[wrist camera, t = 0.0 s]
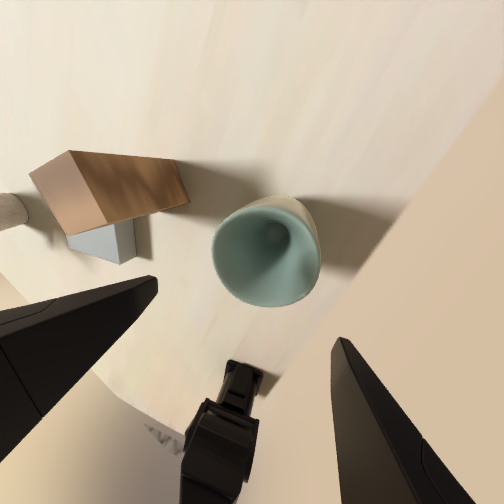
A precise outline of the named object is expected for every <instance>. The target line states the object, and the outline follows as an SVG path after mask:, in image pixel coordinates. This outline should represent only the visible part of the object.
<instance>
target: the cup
mask: <svg viewBox="0 0 504 504" xmlns="http://www.w3.org/2000/svg"><path fill="white" fill-rule="evenodd" d="M212 259H213V263H214V267H215V270H216V272H217V275H218V277H219V279H220V280H221V282H222V284H223V285H224V286H225V287H226V289H227V290H228V291H229V292H230V293H231V294H232V295H234V296H235V297H236V298H238V299H240V300H241V301H243V302H246V303H248V304H251V305H255V306H260V307H282V306H286V305H290V304H293V303H295V302H297V301H299V300H301V299H303V298H304V297H305V296H307V295H308V294H309V293H310V292H311V290H312V289H313V288H314V286H315V284H316V282H317V280H318V277H319V273H320V268H321V249H320V243H319V238H318V234H317V229H316V225H315V223H314V220H313V218H312V216H311V214H310V212H309V211H308V209H307V208H306V207H305V206H304V205H303V204H302V203H301V202H300V201H298V200H296V199H294V198H291V197H287V196H278V195H276V196H268V197H264V198H261V199H258V200H255V201H253V202H251V203H249V204H247V205H245V206H243V207H242V208H240V209H238V210H236V211H235V212H233V213H232V214H230V215H229V216H228V217H227V218H226V219H225V220H223V221H222V223H221V224H220V225H219V227H218V228H217V230H216V232H215V235H214V237H213V241H212Z"/></svg>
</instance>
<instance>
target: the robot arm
mask: <svg viewBox="0 0 504 504" xmlns="http://www.w3.org/2000/svg"><path fill="white" fill-rule="evenodd" d="M157 293H158V280H157V278H156V277H154V276H151V275H147V276H143V277H139V278H135V279H131V280H127V281H123V282H119V283H115V284H111V285H107V286H103V287H99V288H95V289H91V290H87V291H83V292H79V293H75V294H71V295H67V296H63V297H59V298H58V299H57V298H55V299H51V300H47V301H43V302H38V303H34V304H30V305H26V306H21V307H17V308H12V309H7V310H3V311H0V462H1V461H2V460H3V459H4V458H5V457H6V456H7V455H8V454H9V453H10V452H11V451H12V450H13V449H14V448H15V447H16V446H17V445H18V444H19V443H20V442H21V440H22V439H23V438H24V437H25V436H26V435H27V434H28V433H29V432H30V431H31V430H32V429H33V428H34V427H35V426H36V425H37V424H38V423H39V422H40V421H41V420H42V417H44V416H45V415H46V414H47V413H48V412H49V411H50V410H51V409H52V408H53V407H54V406H55V405H56V404H57V403H58V401H60V399H61V398H62V397H63V396H64V395H65V394H66V393H67V392H68V391H69V390H70V389H71V388H72V387H73V386H74V385H75V384H76V383H77V382H78V381H79V380H80V379H81V378H82V376H83V375H84V374H85V373H86V372H87V371H88V370H89V369H90V368H91V367H92V366H93V365H94V364H95V363H96V362H97V361H98V360H99V359H100V358H101V357H102V356H103V355H104V353H105V352H106V351H107V350H108V349H109V348H110V347H111V346H112V345H113V344H114V343H115V342H116V341H117V340H118V339H119V338H120V337H121V336H122V335H123V334H124V333H125V331H126V330H127V329H128V328H129V327H130V326H131V325H132V324H133V323H134V322H135V321H136V320H137V319H138V317H139V316H140V315H141V314H142V313H143V311H144V310H145V309H146V307H147V306H148V305H149V304H150V302H151V301H152V300H153V299H154V297H155V296H156V295H157ZM262 377H263V373H262V372H260V371H257V370H254V369H252V368H249V367H247V366H244V365H241V364H239V363H236V362H233V361H231V360H228V361H227V364H226V369H225V375H224V381H223V385H222V387H221V390H220V392H219V395H218V398H217V400H216V402H214V401H211V400H210V399H209V398H206V399H205V401H204V402H202V403H201V405H200V407H199V409H198V412H197V414H196V415H195V417H194V419H193V420H192V422H191V423H190V425H189V426H188V428H187V430H186V432H185V438H186V440H185V445H184V449H183V453H185V455H184V457H183V460H182V463H181V475H180V490H179V492H180V493H179V504H236V502H237V500H238V497H239V494H240V492H241V488H242V483H243V482H245V483H248V479H249V476H250V472H251V467H252V463H253V457H254V452H255V446H256V439H257V433H258V426H259V420H258V419H254V418H252V417H250V415H251V411H252V406H253V402H254V397H255V396H256V395H257V392H258V389H259V386H260V383H261V380H262ZM331 401H332V411H333V421H334V431H335V442H336V451H337V462H338V472H339V482H340V492H341V502H342V504H476V503H475V502H474V501H473V500H472V498H471V497H470V496H469V495H468V493H467V492H466V491H465V490H464V488H463V487H462V486H461V485H460V484H459V483H458V481H457V480H456V479H455V477H454V476H453V475H452V474H451V472H450V471H449V470H448V468H447V467H446V466H445V465H444V463H443V462H442V461H441V459H440V458H439V457H438V456H437V454H436V453H435V452H434V451H433V449H432V448H431V447H430V445H429V444H428V443H427V441H426V440H425V439H424V438H422V435H421V433H420V432H419V431H418V429H417V428H416V427H415V426H414V424H413V423H412V422H411V420H410V419H409V418H408V416H407V415H406V414H405V412H404V411H403V410H402V408H401V407H400V406H399V404H398V403H397V402H396V401H395V399H394V398H393V397H392V395H391V394H390V393H389V391H388V390H387V389H386V387H385V386H384V385H383V384H382V383H381V381H380V379H379V378H378V377H377V376H376V374H375V373H374V372H373V371H372V369H371V368H370V366H369V365H368V364H367V363H366V361H365V360H364V358H363V357H362V356H361V354H360V353H359V352H358V351H357V349H356V348H355V347H354V345H353V344H352V343H351V341H350V340H348V339H346V338H342V337H339V338H338V339H337V341H336V342H335V344H334V347H333V348H332V351H331Z"/></svg>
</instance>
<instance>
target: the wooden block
mask: <svg viewBox="0 0 504 504" xmlns="http://www.w3.org/2000/svg"><path fill="white" fill-rule="evenodd" d="M29 176H30V177H31V179H32V181H33V182H34V184H35V185H36V187H37V189H38V190H39V192H40V193H41V195H42V197H43V198H44V200H45V202H46V203H47V205H48V206H49V208H50V210H51V211H52V213H53V214H54V216H55V218H56V219H57V221H58V222H59V224H60V226H61V227H62V229H63V231H64V232H65V234H66V235H67V237H68V236H72V235H76V234H79V233H83V232H87V231H90V230H94V229H98V228H101V227H105V226H109V225H112V224H116V223H120V222H123V221H127V220H131V219H134V218H138V217H142V216H145V215H149V214H153V213H156V212H160V211H163V210H166V209H169V208H172V207H176V206H179V205H182V204H185V203H188V202H190V201H189V199H188V196H187V193H186V191H185V188H184V186H183V183H182V180H181V178H180V175H179V173H178V170H177V167H176V165H175V162H174V160H172V159H161V158H150V157H139V156H127V155H116V154H105V153H94V152H83V151H72V150H68V151H66V152H65V153H63V154H61V155H60V156H58V157H56V158H54V159H53V160H51V161H49V162H48V163H46V164H44V165H43V166H41V167H39V168H38V169H36V170H34V171H33V172H31V173H29Z"/></svg>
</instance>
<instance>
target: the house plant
mask: <svg viewBox="0 0 504 504" xmlns="http://www.w3.org/2000/svg"><path fill="white" fill-rule="evenodd" d="M27 221H28V213H27V211H26V208H25V207H24V205H23V203H22V202H21V201H20V200H19V199H18V198H17V197H16V196H14V195H13V194H10V193H0V231H2V230H5V229H8V228H11V227H14V226H17V225H21V224H24V223H26V222H27Z"/></svg>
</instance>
